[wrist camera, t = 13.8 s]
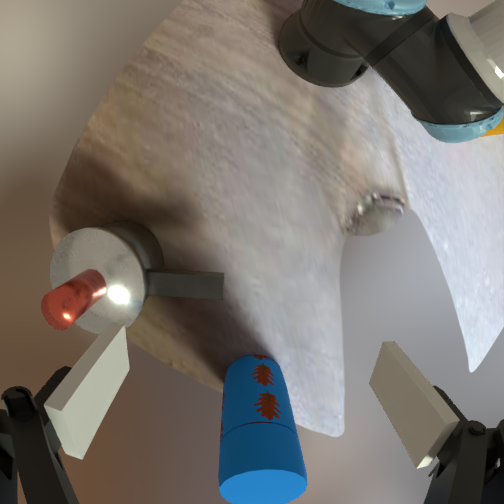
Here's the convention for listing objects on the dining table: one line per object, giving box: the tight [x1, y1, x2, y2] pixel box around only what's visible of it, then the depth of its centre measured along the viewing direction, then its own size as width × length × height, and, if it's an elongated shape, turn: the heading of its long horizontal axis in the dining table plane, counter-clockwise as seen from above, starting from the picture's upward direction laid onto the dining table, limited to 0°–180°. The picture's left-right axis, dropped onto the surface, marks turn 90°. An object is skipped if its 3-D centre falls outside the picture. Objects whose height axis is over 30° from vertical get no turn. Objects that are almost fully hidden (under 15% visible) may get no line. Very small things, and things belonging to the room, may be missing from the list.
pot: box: [101, 221, 224, 300], centre depth 40 cm, size 14×23×11 cm, turn 87°
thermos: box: [218, 355, 307, 504], centre depth 39 cm, size 11×11×25 cm
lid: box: [41, 227, 147, 334], centre depth 29 cm, size 14×14×10 cm
